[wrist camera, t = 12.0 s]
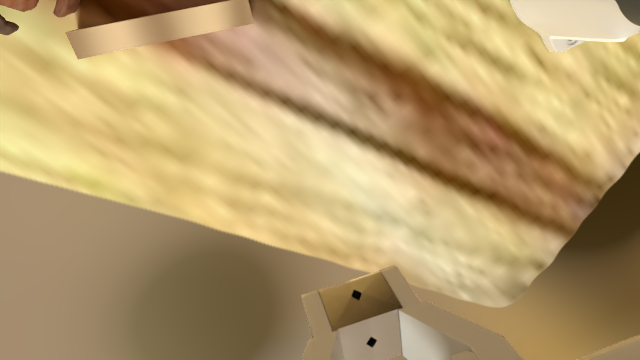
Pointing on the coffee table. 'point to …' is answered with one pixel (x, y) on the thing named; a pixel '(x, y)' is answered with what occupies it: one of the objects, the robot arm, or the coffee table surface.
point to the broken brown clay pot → (64, 6)
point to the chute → (159, 28)
